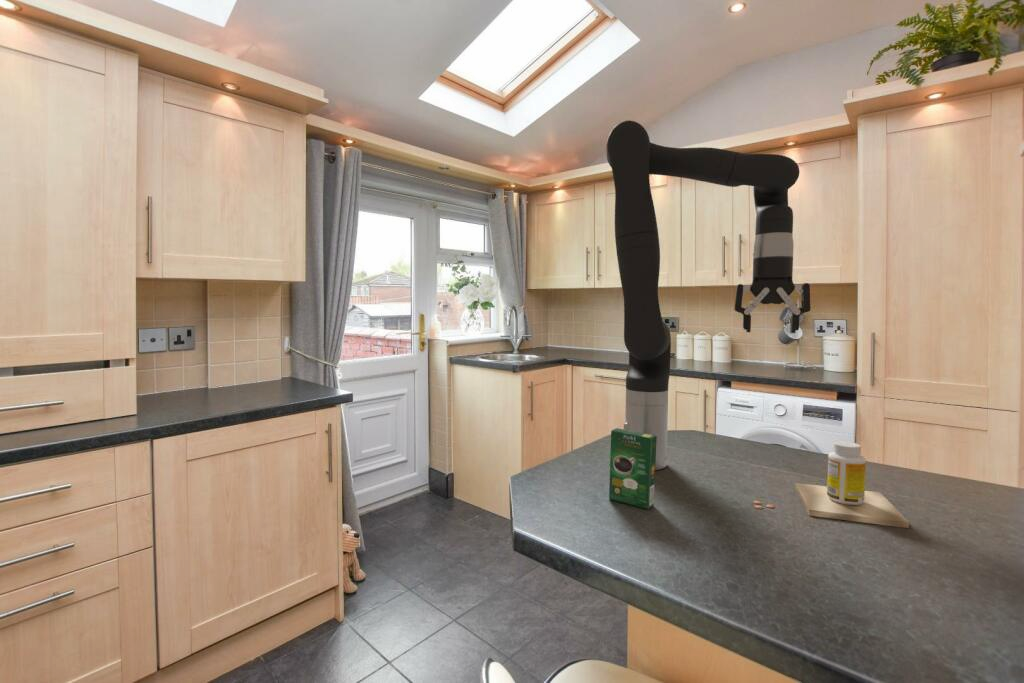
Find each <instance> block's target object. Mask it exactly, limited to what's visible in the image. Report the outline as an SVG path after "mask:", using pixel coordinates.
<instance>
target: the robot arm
mask: <svg viewBox="0 0 1024 683" xmlns="http://www.w3.org/2000/svg"><path fill="white" fill-rule="evenodd" d="M605 145H606V146H605V148H606V152H605V153H606V154H605V155H606V159H607V163H608V165H609V166H610V168H611V171H612V172H611V173H612V178H613V182H614V184H613V185H614V194H615V197H614V198H615V199H614V200H615V201H614V239H615V249H616V256H617V264H618V265H617V266H618V272H619V278H620V282H621V283H620V284H621V289H622V295H623V313H624V314H623V321H624V322H623V323H624V324H623V341H624V345H625V348H626V350H627V351H628V368H627V373H626V377H625V415H624V416H625V418H624V419H625V422H624V423H623V429H624V430H629V431H635V432H640V433H646V434H651V435H656V436H657V441H656V465H655V471H658V470H662V469H665V468H666V467H667V466H668V465H667V463H668V424H669V420H668V417H669V413H668V412H669V383H670V381H669V380H670V374H671V373H670V372H671V352H672V340H671V339H672V337H671V331H670V329H669V327H668V326H667V324H666V323H665V322H664V321H663V318H662V313H661V307H660V300H659V280H660V279H659V278H660V270H661V268H660V266H661V248H660V237H659V228H658V222H657V215H656V211H655V205H654V199H653V195H652V190H651V183H650V175H658V176H667V177H675V178H681V179H688V180H693V181H699V182H704V183H710V184H714V185H718V186H723V187H730V188H738V187H741V186H748V187H749V186H750V187H753V188H752V189H753V199H754V201H753V202H754V208H755V214H756V217H755V236H754V243H753V253H752V259H753V260H752V282H751V284H750V285H749V284H741V283H739V284H738V285H736V288H735V289H736V290H735V299H734V300H735V301H734V311H735V312H737V313H739V314H742V316H743V318H742V328H743V330H745V332H746V333H751V330H752V329H751V326H752V325H751V324H752V315H751V313H752V312H753V310H754V309H755V308H757V306H758V305H759V304H761V305H771V304H773V305H780V304H784V306H785V307H786V308H787V309H788V310H789V311H790V313H791V315H790V322H789V324H790V326H789V333H790V334H796V333H797V332H796V331H799V329H800V317H801V315H802V314H805V313H808V312H809V313H810V311H811V285H810V283H808V282H807V283H805V282H804V283H802V284H801V283H798V284H795V283H794V282H793V270H794V238H793V237H794V236H793V235H794V234H793V231H794V212H793V209H792V207H791V206H789V189H791V188H792V187H793V186H794V185H795V184H796V183H797V181H798V179H799V177H800V167H799V165H798V163H797V162H796V160H794V159H792V158H791V157H789V156H786V155H782V154H775V153H743V152H738V151H734V150H728V149H724V148H718V147H717V148H716V147H671V146H664V145H660V144H656V143H653V142H650V136H649V134H648V132H647V129H645V127H644V126H643V125H642V124H640V123H639V122H637V121H635V120H624V121H622V122H619V123H617V124H616V125H615V126H614V127H613V128H612V130H611V131H610V133H609V135H608V137H607V139H606V144H605ZM749 290H750V292H751V294H752V295H753V296H754V297H753V299H752V300H751V301H750V302H749V304H747V306H746V307H742V304H743V295H746V294H747V292H748V291H749ZM794 290H796V292H797V294H799V295H800V296H801V297H800V298H801V300H800V302H801V307H798V306H797V304H796V303H795V302H794V301H793V300H792V298H791V297H790V295H792V293H793V292H794Z"/></svg>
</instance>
